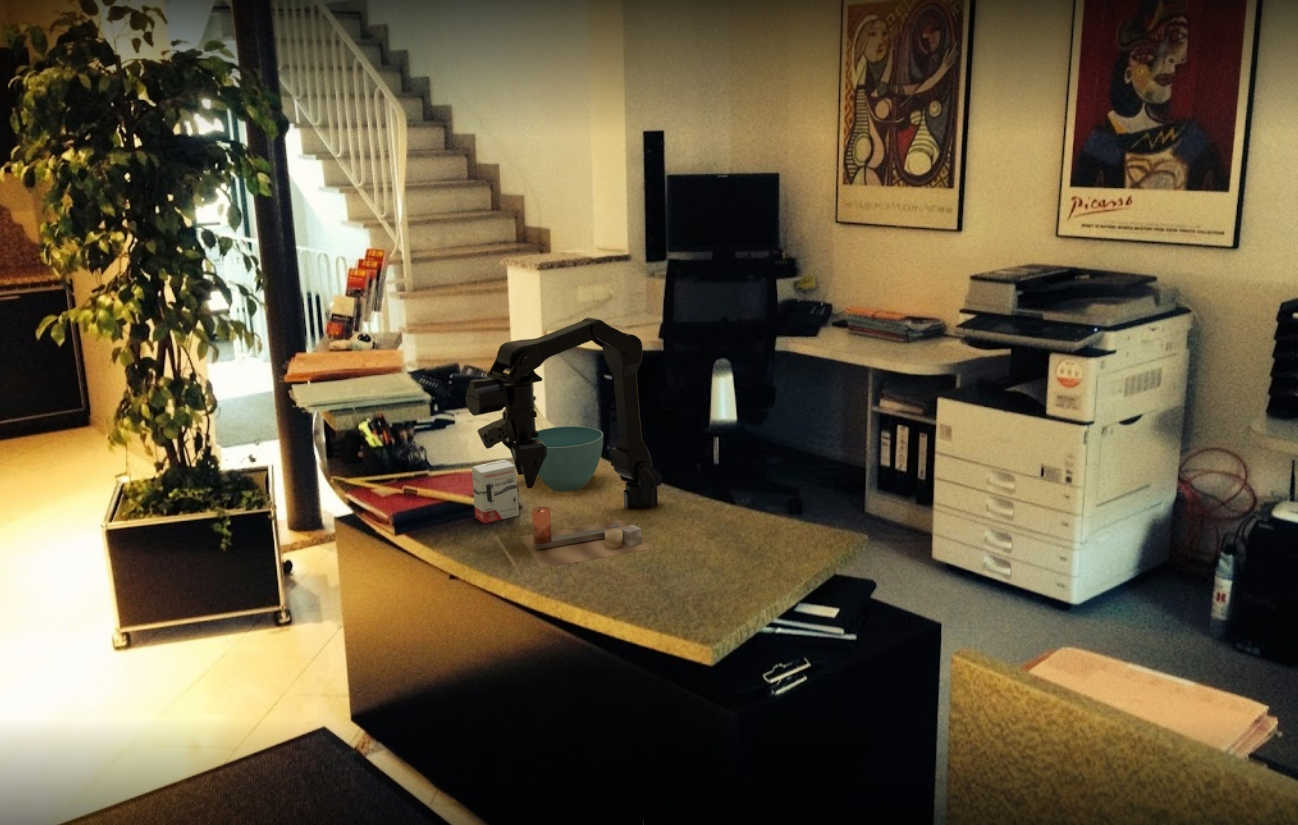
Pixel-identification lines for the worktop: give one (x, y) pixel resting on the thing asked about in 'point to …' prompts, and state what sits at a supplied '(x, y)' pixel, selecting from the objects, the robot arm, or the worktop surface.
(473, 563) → the worktop surface
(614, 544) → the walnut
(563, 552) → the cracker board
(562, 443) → the teal bowl
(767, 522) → the worktop surface
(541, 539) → the lever
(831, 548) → the worktop surface
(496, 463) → the ink box
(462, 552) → the worktop surface
